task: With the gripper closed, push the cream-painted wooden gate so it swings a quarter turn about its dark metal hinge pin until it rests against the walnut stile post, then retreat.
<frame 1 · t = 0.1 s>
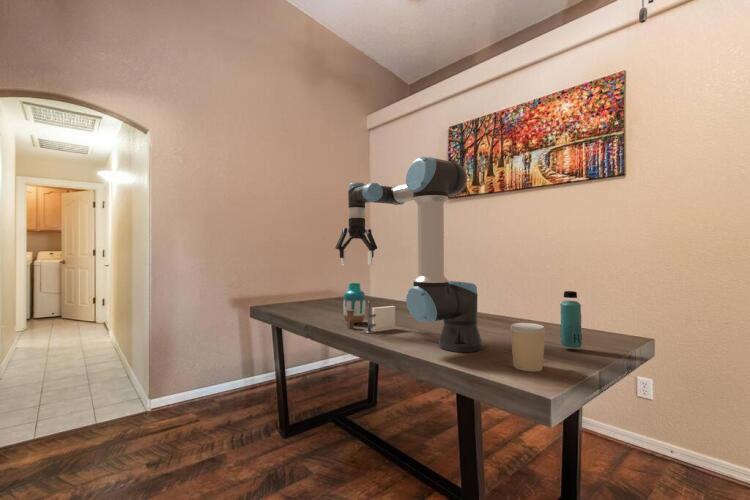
hand: (357, 265, 162), 28 cm above the table, fingers open, 13 cm apart
vase: (354, 323, 172), on the table
hinge post: (369, 332, 152), on the table
coffee cup: (527, 367, 105), on the table
beverage bottle: (571, 350, 123), on the table
stile post: (350, 328, 161), on the table
gate: (382, 317, 156), point 5 cm above the table, hinge at 0.0°
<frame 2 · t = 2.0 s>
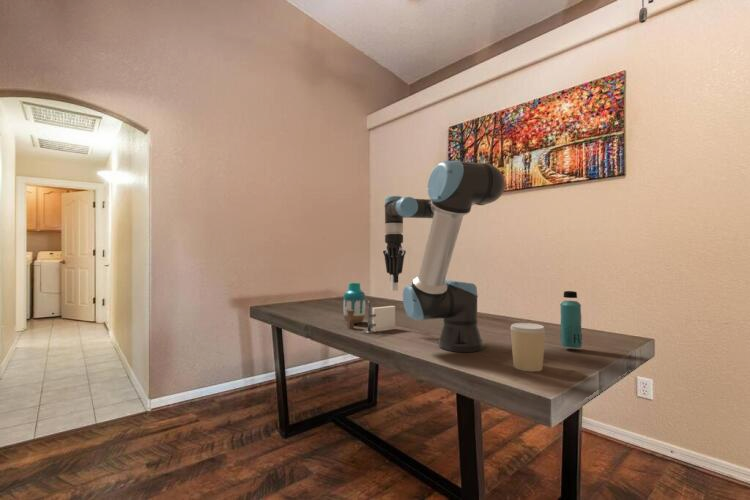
hand: (394, 290, 151), 18 cm above the table, fingers closed
nothing on the table moved.
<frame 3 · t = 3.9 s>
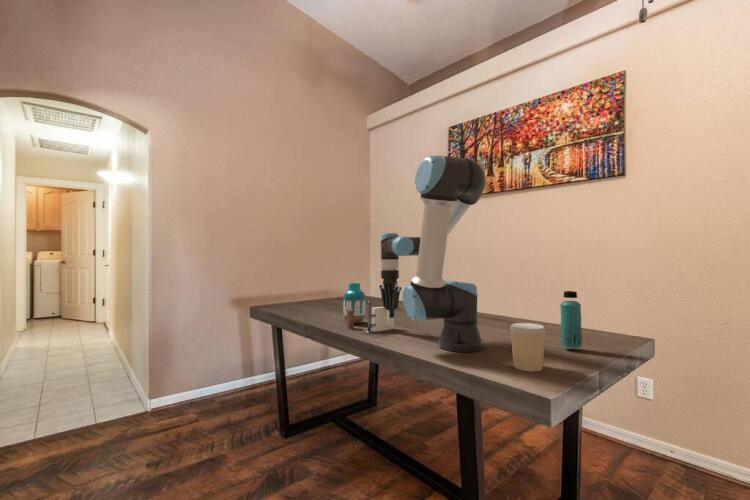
hand: (390, 325, 153), 3 cm above the table, fingers closed
gate: (382, 317, 156), point 5 cm above the table, hinge at 3.0°, touching gripper
everything else where it was.
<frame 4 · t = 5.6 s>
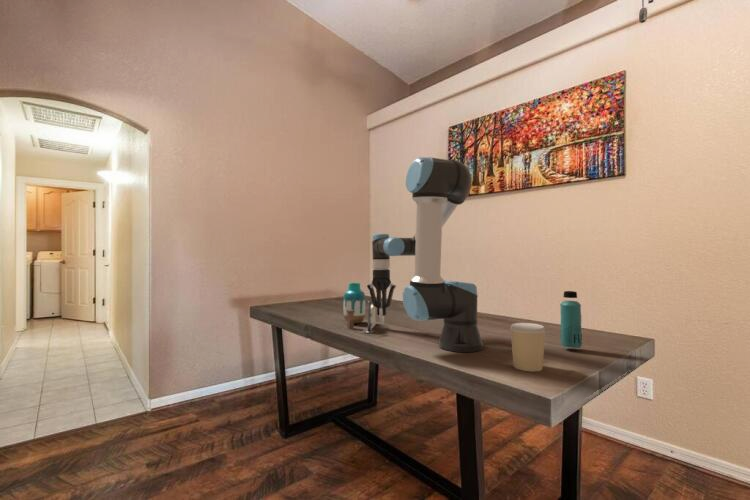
hand: (381, 322, 159), 3 cm above the table, fingers closed
gate: (371, 316, 159), point 5 cm above the table, hinge at 48.1°, touching gripper
everything else where it was.
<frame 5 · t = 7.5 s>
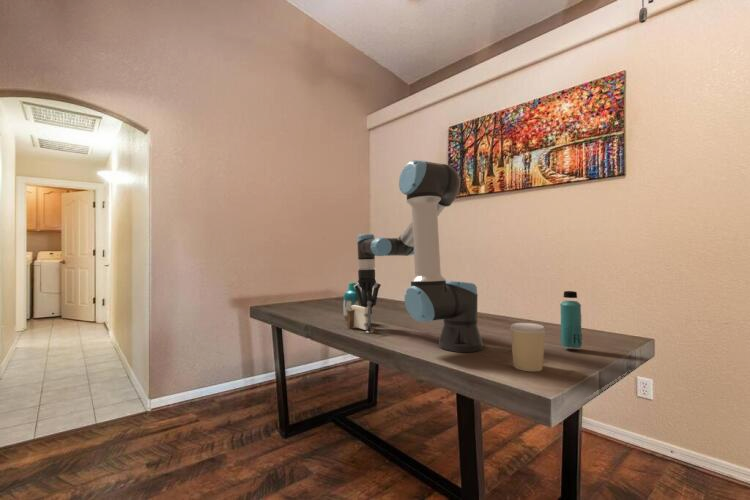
hand: (367, 321, 161), 3 cm above the table, fingers closed
gate: (360, 317, 157), point 5 cm above the table, hinge at 91.3°, touching gripper, hand, stile post
everything else where it was.
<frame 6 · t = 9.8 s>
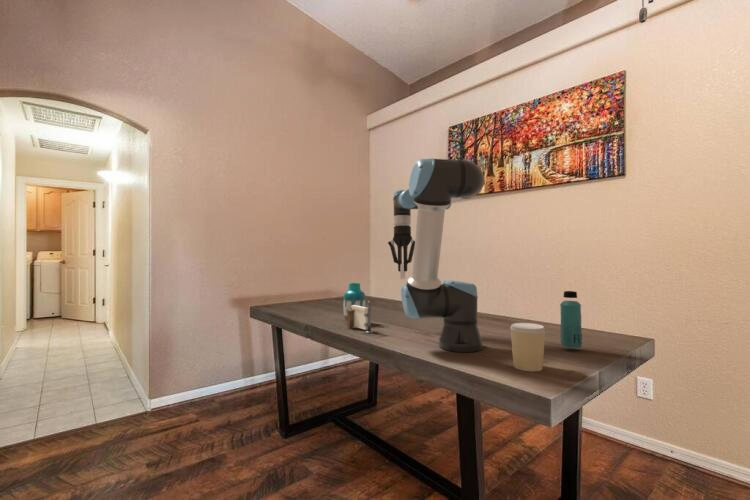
hand: (402, 279, 159), 22 cm above the table, fingers closed
gate: (360, 317, 157), point 5 cm above the table, hinge at 91.3°
everything else where it was.
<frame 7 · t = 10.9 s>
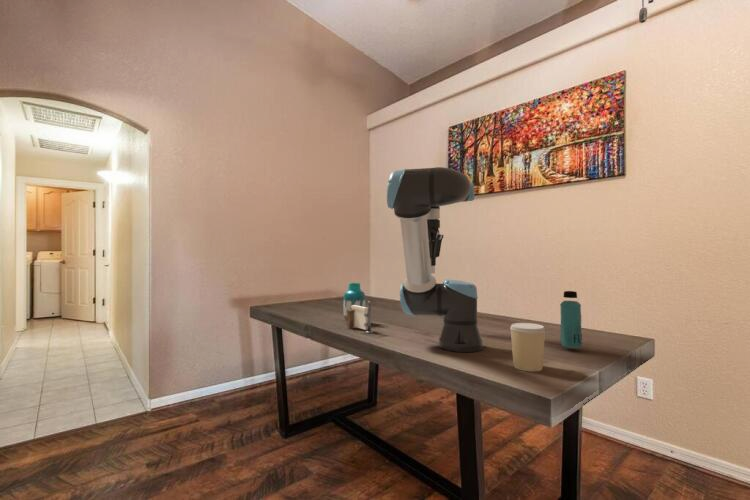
hand: (431, 273, 158), 24 cm above the table, fingers closed
nothing on the table moved.
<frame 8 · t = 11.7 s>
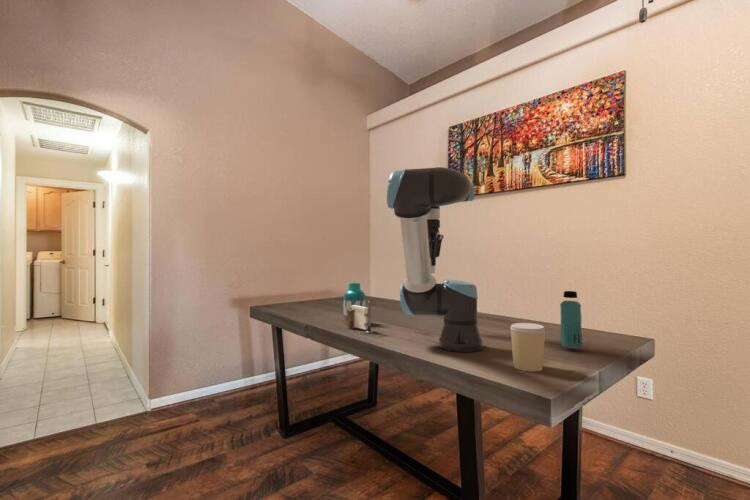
hand: (431, 273, 158), 24 cm above the table, fingers closed
nothing on the table moved.
at the end: gate at +91° (first picture: +0°) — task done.
